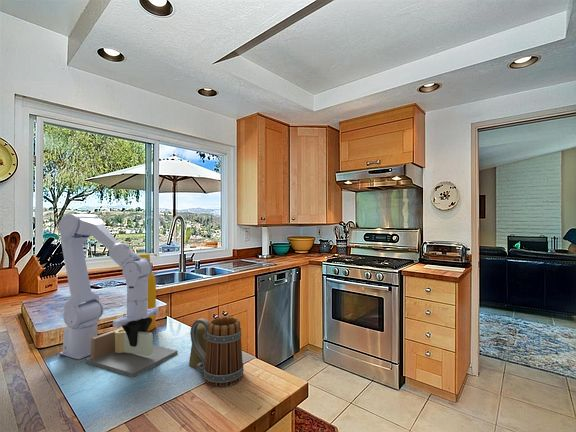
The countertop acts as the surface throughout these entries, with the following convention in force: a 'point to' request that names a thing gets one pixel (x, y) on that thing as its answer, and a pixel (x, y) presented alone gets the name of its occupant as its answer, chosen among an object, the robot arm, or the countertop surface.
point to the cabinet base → (124, 356)
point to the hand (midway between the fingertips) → (136, 344)
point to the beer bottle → (151, 293)
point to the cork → (202, 342)
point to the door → (142, 346)
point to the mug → (220, 351)
